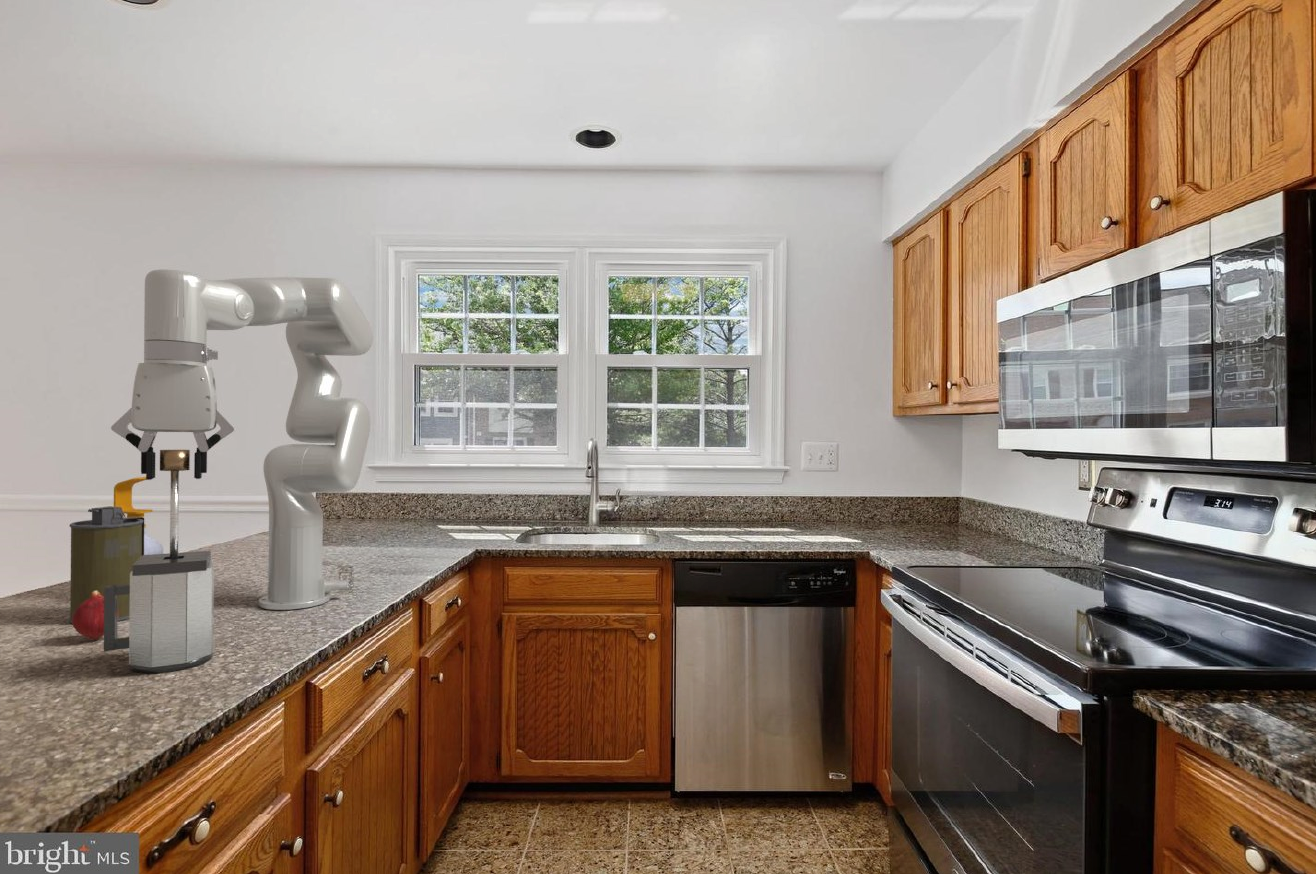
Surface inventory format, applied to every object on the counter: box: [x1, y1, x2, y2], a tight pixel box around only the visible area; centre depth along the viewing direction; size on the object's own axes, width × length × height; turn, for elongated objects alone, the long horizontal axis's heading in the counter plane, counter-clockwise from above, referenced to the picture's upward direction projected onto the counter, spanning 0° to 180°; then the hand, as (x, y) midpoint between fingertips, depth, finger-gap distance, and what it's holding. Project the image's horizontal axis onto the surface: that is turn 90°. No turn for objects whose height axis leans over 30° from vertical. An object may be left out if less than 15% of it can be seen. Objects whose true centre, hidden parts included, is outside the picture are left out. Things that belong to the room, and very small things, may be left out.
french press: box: [103, 550, 215, 675], centre depth 99 cm, size 13×10×16 cm
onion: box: [71, 591, 119, 641], centre depth 109 cm, size 6×6×8 cm
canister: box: [68, 506, 145, 624], centre depth 122 cm, size 11×10×20 cm
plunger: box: [159, 449, 191, 559], centre depth 100 cm, size 7×7×20 cm
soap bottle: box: [113, 476, 164, 555], centre depth 136 cm, size 9×9×25 cm
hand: (174, 477), depth 100 cm, fingers open, 5 cm apart
